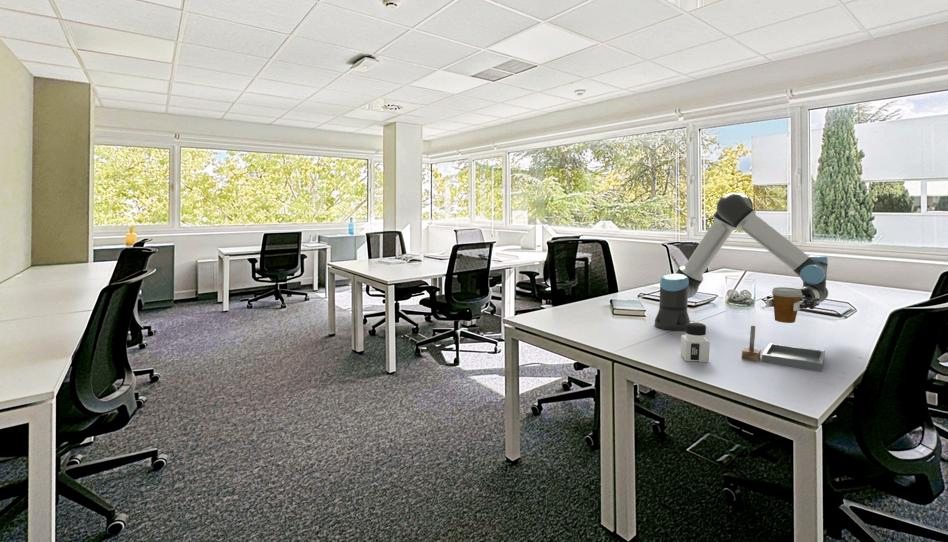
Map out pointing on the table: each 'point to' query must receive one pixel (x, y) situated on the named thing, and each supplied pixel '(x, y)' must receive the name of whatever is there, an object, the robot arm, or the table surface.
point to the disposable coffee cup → (785, 303)
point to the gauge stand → (751, 348)
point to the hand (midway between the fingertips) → (780, 305)
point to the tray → (794, 357)
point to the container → (695, 343)
